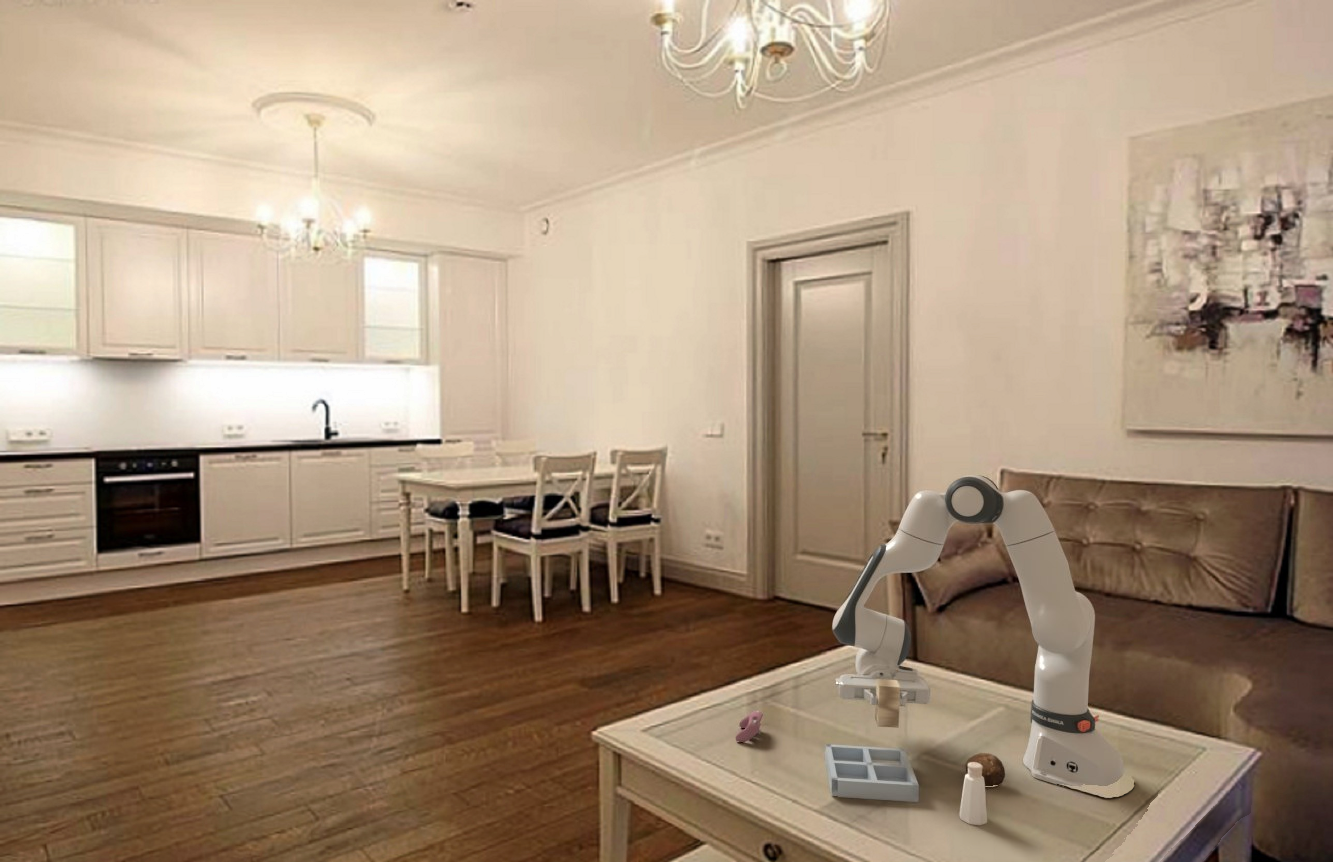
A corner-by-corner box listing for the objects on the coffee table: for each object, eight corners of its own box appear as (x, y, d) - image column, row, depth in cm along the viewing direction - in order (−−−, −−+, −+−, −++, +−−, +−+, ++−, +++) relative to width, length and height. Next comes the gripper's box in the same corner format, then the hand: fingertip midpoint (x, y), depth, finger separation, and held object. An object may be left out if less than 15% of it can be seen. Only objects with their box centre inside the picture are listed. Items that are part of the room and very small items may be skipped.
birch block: (895, 719, 191) (896, 680, 190) (898, 727, 186) (900, 687, 186) (875, 718, 191) (876, 679, 190) (877, 726, 187) (879, 686, 186)
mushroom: (975, 754, 192) (980, 739, 188) (1008, 777, 187) (1014, 763, 183) (956, 779, 188) (960, 765, 184) (989, 803, 183) (995, 789, 179)
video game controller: (750, 751, 202) (764, 726, 202) (733, 741, 203) (747, 716, 202) (754, 734, 212) (767, 710, 211) (738, 724, 213) (751, 701, 212)
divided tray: (903, 764, 193) (904, 748, 193) (918, 802, 176) (919, 785, 176) (824, 759, 195) (825, 744, 195) (831, 796, 178) (831, 780, 178)
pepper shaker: (978, 811, 173) (980, 757, 172) (993, 824, 167) (995, 769, 167) (953, 812, 172) (955, 759, 171) (967, 826, 167) (969, 771, 166)
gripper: (834, 664, 202) (840, 685, 188) (923, 669, 200) (936, 690, 186) (833, 690, 202) (839, 713, 189) (922, 695, 200) (934, 719, 187)
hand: (888, 702), depth 187 cm, fingers closed on birch block, 4 cm apart
